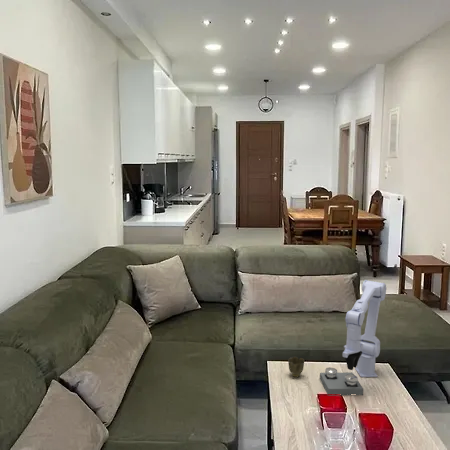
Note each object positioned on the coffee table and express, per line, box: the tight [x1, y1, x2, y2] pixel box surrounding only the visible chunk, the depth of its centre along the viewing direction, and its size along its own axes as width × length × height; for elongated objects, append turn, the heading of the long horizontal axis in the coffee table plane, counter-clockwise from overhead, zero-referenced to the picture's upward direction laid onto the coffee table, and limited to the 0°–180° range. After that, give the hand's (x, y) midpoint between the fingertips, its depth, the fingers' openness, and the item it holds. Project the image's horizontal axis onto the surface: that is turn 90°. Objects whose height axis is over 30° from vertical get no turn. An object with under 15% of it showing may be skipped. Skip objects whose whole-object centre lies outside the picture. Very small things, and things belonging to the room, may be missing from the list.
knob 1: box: [324, 366, 338, 379], centre depth 211 cm, size 5×5×4 cm
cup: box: [287, 356, 305, 378], centre depth 217 cm, size 8×7×8 cm
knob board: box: [319, 371, 364, 396], centre depth 208 cm, size 15×15×3 cm
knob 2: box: [345, 374, 359, 387], centre depth 204 cm, size 5×5×4 cm
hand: (351, 368), depth 203 cm, fingers open, 3 cm apart
